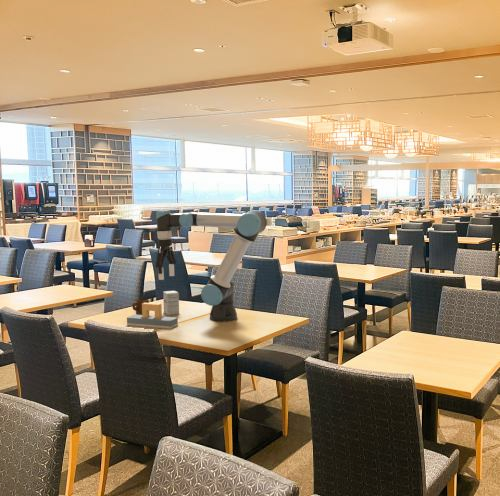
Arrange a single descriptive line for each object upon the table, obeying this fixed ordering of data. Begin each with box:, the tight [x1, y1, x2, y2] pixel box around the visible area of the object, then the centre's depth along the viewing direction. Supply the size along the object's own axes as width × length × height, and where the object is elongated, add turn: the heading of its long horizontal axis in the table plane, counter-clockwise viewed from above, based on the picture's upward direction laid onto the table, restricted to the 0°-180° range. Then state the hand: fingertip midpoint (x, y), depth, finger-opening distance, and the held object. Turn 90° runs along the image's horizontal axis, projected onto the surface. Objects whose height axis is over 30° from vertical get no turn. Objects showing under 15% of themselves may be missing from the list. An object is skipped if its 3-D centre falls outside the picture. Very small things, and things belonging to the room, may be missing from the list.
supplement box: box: [162, 290, 180, 316], centre depth 330 cm, size 7×7×13 cm
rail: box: [126, 314, 179, 329], centre depth 302 cm, size 26×8×4 cm, turn 70°
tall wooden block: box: [142, 302, 163, 319], centre depth 301 cm, size 10×3×10 cm, turn 70°
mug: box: [131, 298, 150, 315], centre depth 322 cm, size 12×8×9 cm, turn 151°
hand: (166, 277), depth 308 cm, fingers open, 13 cm apart
